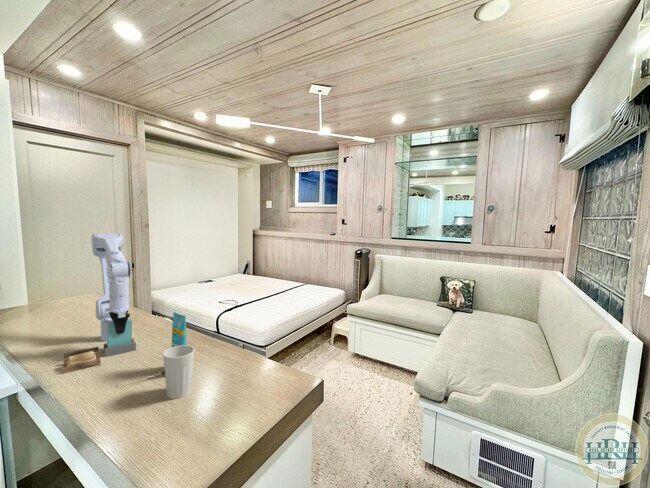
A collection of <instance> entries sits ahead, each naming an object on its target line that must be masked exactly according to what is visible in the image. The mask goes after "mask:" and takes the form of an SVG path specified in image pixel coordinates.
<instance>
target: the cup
mask: <svg viewBox="0 0 650 488" xmlns="http://www.w3.org/2000/svg"><path fill="white" fill-rule="evenodd" d="M195 350H196V348H195V347H194V346H192V345H188V344H187V345H181V346H175V347H172V346H171V347H169V348H167V349H166V350H164V351H163V353H162V357H163V366H164V378H165V379H164V380H165V386H166V387H165V389H166V397H167V398H169V399H173V400H175V399H181V398H184V397H186V396H188V395H189V394H190V393H191V392H192V390H193V389H192V387H193V386H192V383H193V373H194V372H193V371H194V360H195Z"/></svg>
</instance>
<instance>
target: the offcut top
mask: <svg viewBox="0 0 650 488" xmlns="http://www.w3.org/2000/svg"><path fill="white" fill-rule="evenodd" d="M91 359H95V353H94V352H93V351H90V352H86V353H82V354H78V355H74V356H70V357H69V363H70V365H72V364H76V363H79V362H83V361H87V360H91Z"/></svg>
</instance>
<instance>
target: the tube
mask: <svg viewBox="0 0 650 488" xmlns="http://www.w3.org/2000/svg"><path fill="white" fill-rule="evenodd" d="M171 326H172V328H171V329H172V330H171V348H172V347H175V346H181V345H188V337H187V320H186V315H185V314H184V315H183V314H179V313H177V312H175V311H172V325H171Z"/></svg>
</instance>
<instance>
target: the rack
mask: <svg viewBox="0 0 650 488" xmlns="http://www.w3.org/2000/svg"><path fill="white" fill-rule="evenodd" d="M90 351H93V352H94V353H95V355H96V360H95V361H91V362H87V363H82V364H78V365H74V366H69V367H67V363H68V361H69V357H70V356H74V355H78V354H82V353H86V352H90ZM62 361H63V368H62V375H64V374H67V373H73V372H76V371H80V370H81V371H82V370H85V369H88V368H89V369H90V368H94V367H98V366H101V358H100V351H99V346H95V347H89V348H85V349H79V350H74V351H70V352H65V353H63V360H62Z"/></svg>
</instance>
